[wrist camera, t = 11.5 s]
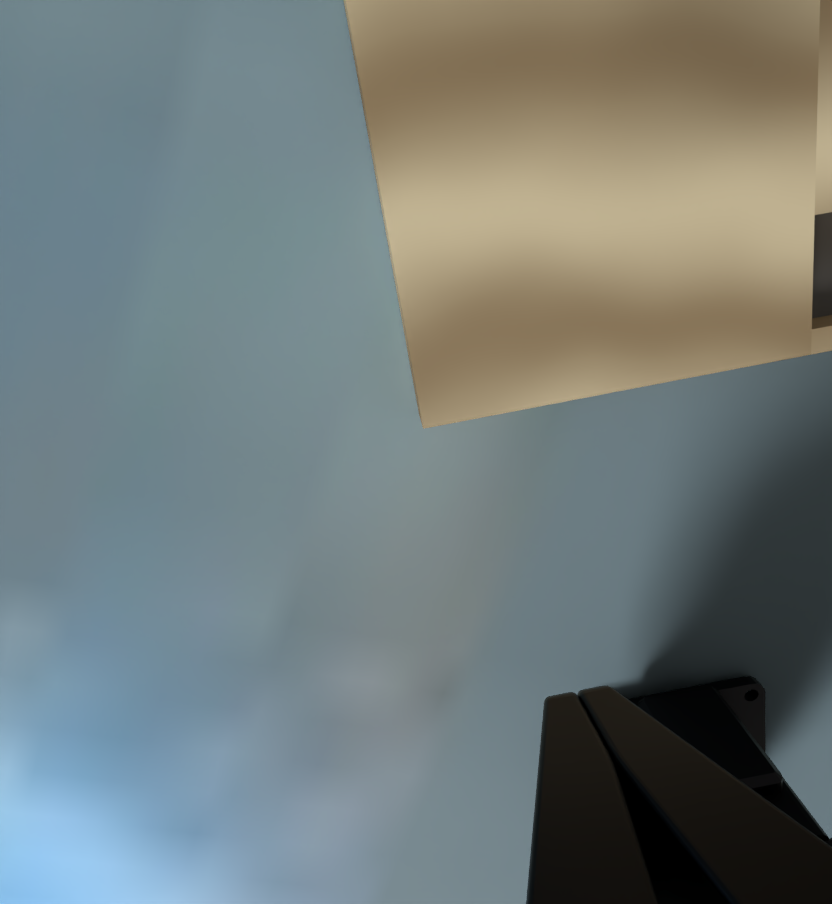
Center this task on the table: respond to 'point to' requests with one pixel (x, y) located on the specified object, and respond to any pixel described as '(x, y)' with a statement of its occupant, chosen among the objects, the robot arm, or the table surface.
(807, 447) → the table surface
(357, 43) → the trap board
